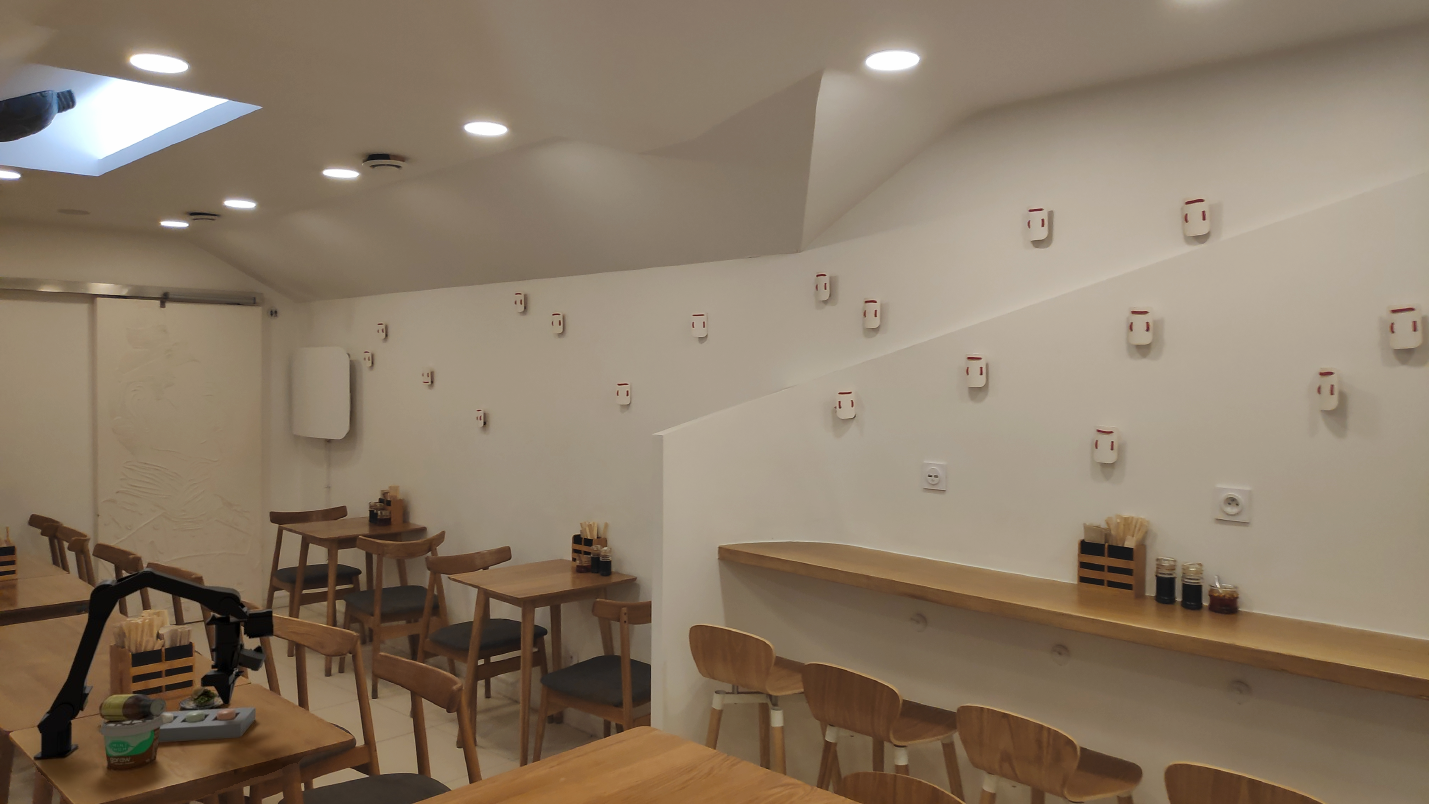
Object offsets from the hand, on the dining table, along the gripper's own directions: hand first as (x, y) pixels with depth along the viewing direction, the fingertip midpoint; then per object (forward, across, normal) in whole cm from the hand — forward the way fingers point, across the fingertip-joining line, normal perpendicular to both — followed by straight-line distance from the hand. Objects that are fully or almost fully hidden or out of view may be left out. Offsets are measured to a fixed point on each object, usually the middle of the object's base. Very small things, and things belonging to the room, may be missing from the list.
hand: (226, 703), depth 220 cm
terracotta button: (+5, 0, 0) cm, 5 cm away
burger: (+7, +19, +11) cm, 23 cm away
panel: (+6, 0, +7) cm, 9 cm away
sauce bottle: (+3, +12, +31) cm, 34 cm away
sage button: (+5, 0, +7) cm, 9 cm away
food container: (+6, -20, +14) cm, 25 cm away
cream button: (+5, 0, +14) cm, 15 cm away
